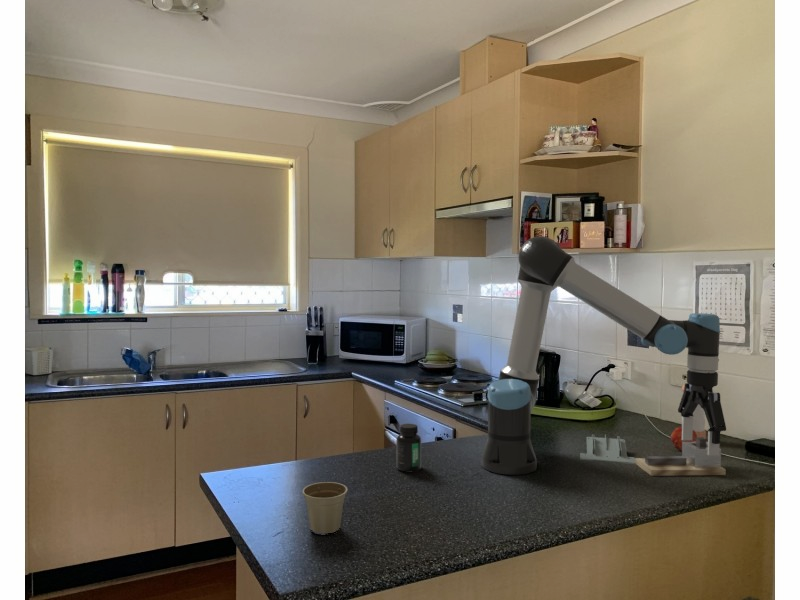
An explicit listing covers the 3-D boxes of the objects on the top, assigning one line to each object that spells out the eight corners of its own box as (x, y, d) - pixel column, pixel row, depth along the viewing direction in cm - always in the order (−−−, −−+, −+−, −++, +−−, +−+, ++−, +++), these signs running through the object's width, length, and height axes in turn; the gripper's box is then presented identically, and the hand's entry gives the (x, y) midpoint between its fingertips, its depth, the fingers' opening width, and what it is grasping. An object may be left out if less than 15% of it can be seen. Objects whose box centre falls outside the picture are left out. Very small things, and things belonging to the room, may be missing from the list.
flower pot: (349, 520, 129) (348, 481, 129) (346, 539, 120) (346, 497, 119) (306, 520, 129) (305, 482, 128) (300, 540, 120) (299, 498, 119)
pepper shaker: (675, 438, 190) (676, 379, 189) (691, 435, 193) (692, 378, 192) (695, 444, 184) (696, 383, 183) (710, 441, 187) (712, 381, 186)
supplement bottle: (421, 472, 159) (421, 428, 159) (396, 472, 159) (396, 429, 159) (420, 464, 166) (420, 422, 166) (396, 464, 166) (396, 422, 166)
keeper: (651, 475, 156) (651, 444, 156) (635, 463, 166) (635, 433, 166) (725, 474, 156) (726, 443, 156) (705, 462, 166) (705, 433, 166)
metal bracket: (579, 429, 182) (631, 433, 177) (579, 445, 183) (631, 449, 179) (580, 456, 169) (636, 460, 164) (579, 473, 170) (635, 478, 166)
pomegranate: (666, 454, 181) (676, 442, 173) (665, 432, 185) (675, 419, 177) (692, 458, 180) (703, 446, 172) (690, 436, 184) (701, 423, 176)
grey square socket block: (694, 467, 158) (695, 449, 157) (682, 459, 165) (682, 441, 164) (720, 467, 158) (721, 449, 158) (706, 459, 165) (707, 441, 165)
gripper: (743, 379, 148) (740, 462, 149) (692, 363, 173) (689, 434, 174) (714, 378, 148) (710, 462, 149) (667, 362, 172) (664, 434, 174)
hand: (699, 447), depth 161 cm, fingers open, 13 cm apart
